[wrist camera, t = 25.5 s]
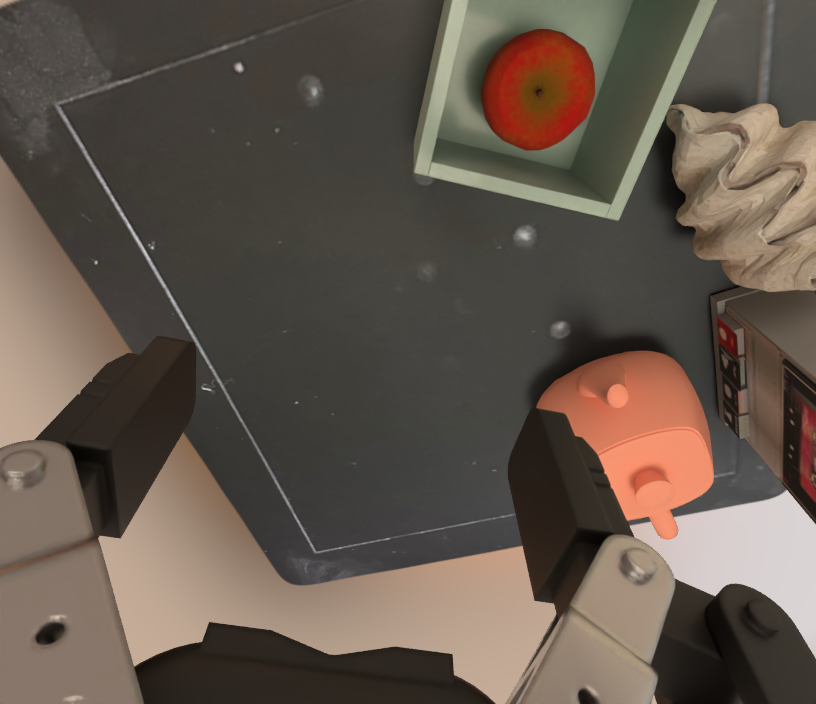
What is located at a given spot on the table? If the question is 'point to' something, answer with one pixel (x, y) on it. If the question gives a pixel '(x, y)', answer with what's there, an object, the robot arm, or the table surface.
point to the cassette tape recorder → (770, 380)
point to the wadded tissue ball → (749, 193)
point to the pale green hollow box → (609, 113)
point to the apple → (538, 89)
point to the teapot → (640, 431)
